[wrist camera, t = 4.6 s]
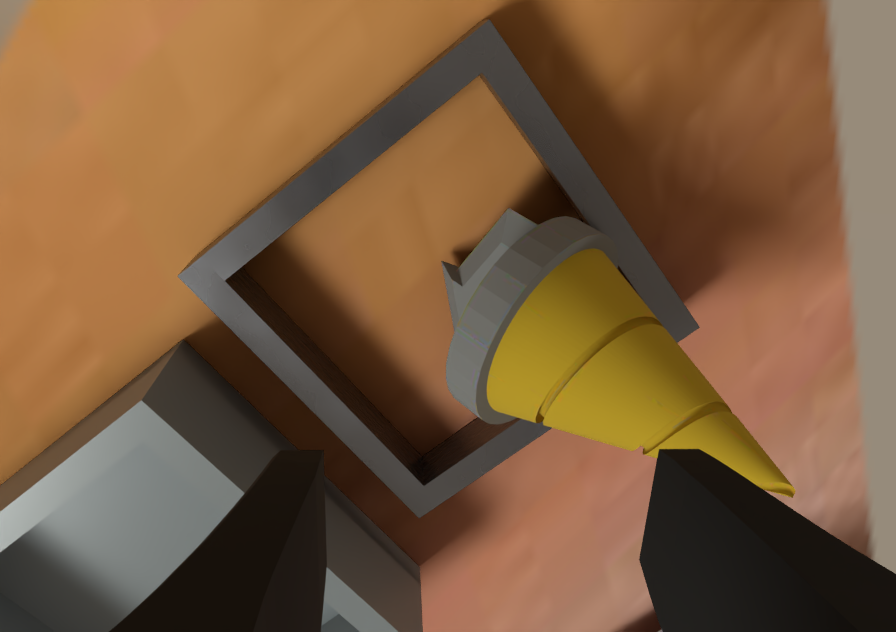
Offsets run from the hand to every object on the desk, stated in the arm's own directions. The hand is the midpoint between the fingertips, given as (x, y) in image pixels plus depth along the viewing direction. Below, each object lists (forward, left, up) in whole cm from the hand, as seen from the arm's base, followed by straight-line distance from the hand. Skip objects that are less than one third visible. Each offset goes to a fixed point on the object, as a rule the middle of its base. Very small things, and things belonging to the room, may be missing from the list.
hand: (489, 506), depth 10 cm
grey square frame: (0, 0, -10) cm, 10 cm away
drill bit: (+1, 0, -10) cm, 10 cm away
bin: (-2, +12, -10) cm, 16 cm away
